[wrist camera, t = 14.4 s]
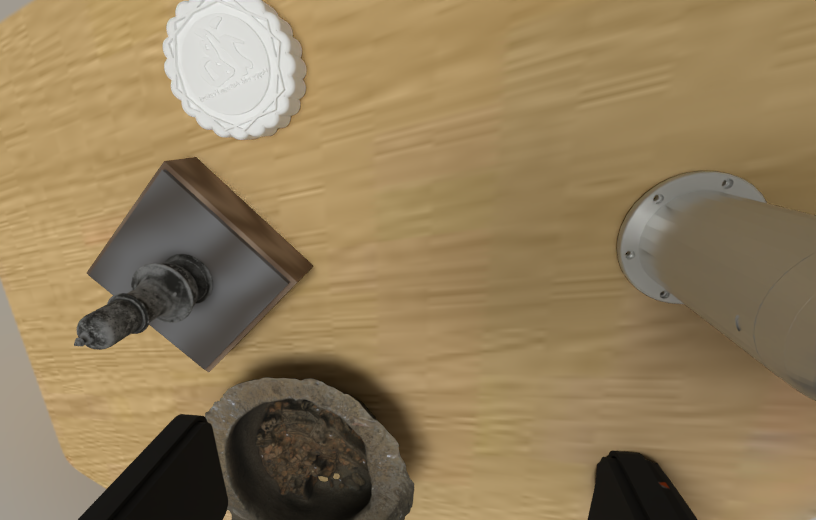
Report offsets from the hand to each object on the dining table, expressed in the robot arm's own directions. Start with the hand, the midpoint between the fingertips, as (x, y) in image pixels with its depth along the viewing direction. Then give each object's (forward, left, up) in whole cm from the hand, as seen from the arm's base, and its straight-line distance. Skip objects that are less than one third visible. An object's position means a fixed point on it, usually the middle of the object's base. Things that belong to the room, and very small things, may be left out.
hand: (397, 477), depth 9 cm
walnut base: (+13, +22, -30) cm, 40 cm away
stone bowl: (-10, +31, -31) cm, 45 cm away
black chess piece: (+13, +22, -26) cm, 36 cm away
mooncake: (+22, +4, -31) cm, 38 cm away
